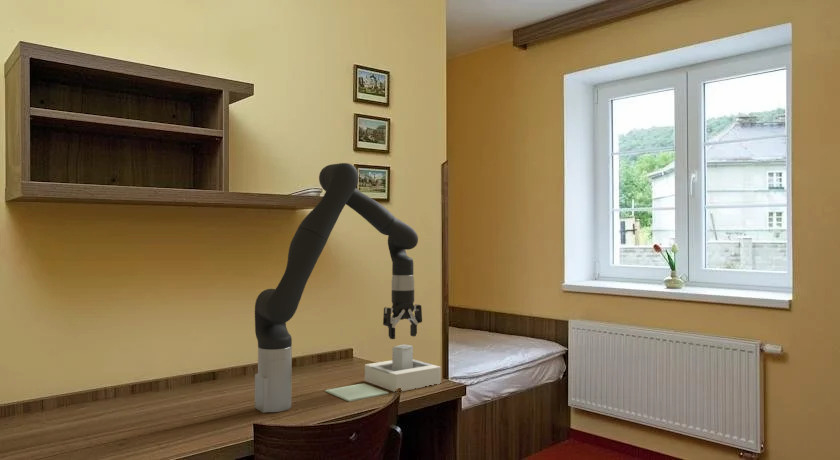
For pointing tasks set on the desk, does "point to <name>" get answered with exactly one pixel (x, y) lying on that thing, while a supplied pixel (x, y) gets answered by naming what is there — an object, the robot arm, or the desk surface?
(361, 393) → the place mat
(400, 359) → the skincare box
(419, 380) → the access box
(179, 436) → the desk surface
